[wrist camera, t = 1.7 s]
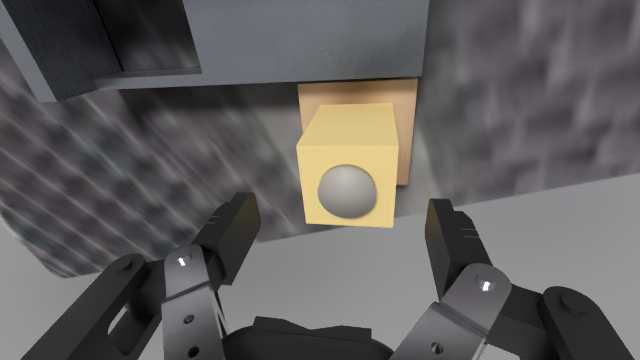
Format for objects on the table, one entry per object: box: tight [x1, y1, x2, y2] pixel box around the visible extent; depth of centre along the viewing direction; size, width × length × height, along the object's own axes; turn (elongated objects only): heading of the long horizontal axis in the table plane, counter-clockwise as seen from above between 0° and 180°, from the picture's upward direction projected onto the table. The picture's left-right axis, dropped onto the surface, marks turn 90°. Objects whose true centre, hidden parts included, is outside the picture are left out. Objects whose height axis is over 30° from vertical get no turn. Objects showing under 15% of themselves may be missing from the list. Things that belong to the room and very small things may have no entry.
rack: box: [0, 0, 429, 102], centre depth 16 cm, size 24×9×7 cm, turn 95°
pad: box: [297, 76, 418, 185], centre depth 22 cm, size 8×8×2 cm
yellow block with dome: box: [296, 103, 399, 228], centre depth 18 cm, size 5×5×8 cm
